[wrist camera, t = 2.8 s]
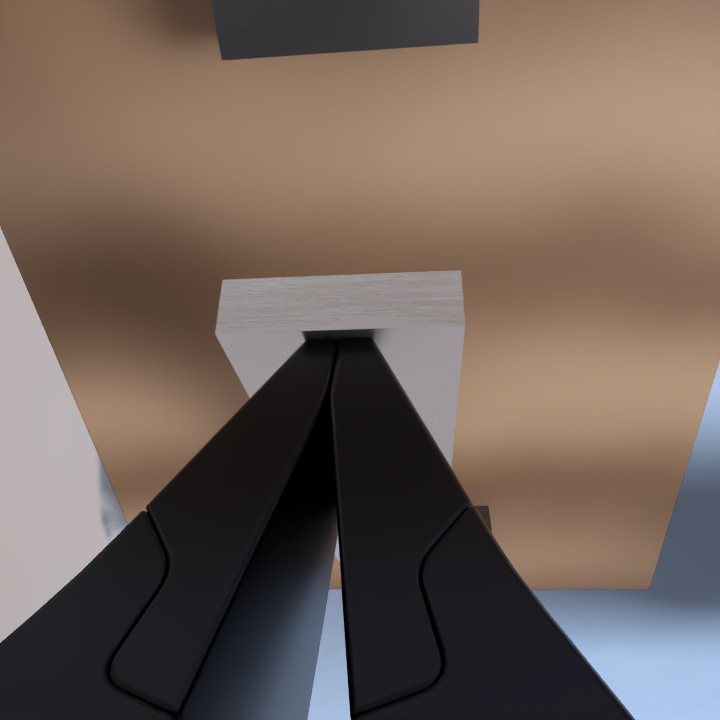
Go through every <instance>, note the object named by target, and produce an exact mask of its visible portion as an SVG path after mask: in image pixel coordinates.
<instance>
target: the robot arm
mask: <svg viewBox="0 0 720 720" xmlns="http://www.w3.org/2000/svg"><path fill="white" fill-rule="evenodd" d="M146 511H147V512H146ZM146 511H141V512H140V513H139V514H138V515H137V516H136V517H135V518H134V519H133V520H132V521H131V522H130V523H129V524H128V525H127V526H126V527H125V528H124V529H123V530H122V531H121V533H120V534H119V535H118V536H117V537H116V538H115V539H114V540H113V541H111V542H110V543H109V544H108V545H107V546H106V547H105V548H104V549H103V551H102V552H100V553H99V554H98V555H97V556H96V557H95V558H94V559H93V560H92V561H91V562H90V563H89V564H88V565H87V566H86V567H85V568H84V569H83V570H82V571H81V572H80V573H79V574H78V575H77V576H76V577H74V579H72V580H71V581H70V582H69V583H68V584H67V585H66V586H64V587H63V588H62V589H61V590H60V591H59V592H58V593H57V594H56V595H54V596H53V597H52V598H51V599H50V600H49V601H48V602H47V603H46V604H45V605H43V606H42V607H41V608H40V609H39V610H38V611H37V612H36V613H35V614H33V615H32V616H31V617H30V618H29V619H28V620H26V621H25V622H24V623H23V624H22V625H21V626H20V627H18V628H17V629H16V630H15V631H14V632H13V633H11V634H10V635H9V636H8V637H7V638H6V639H5V640H3V641H2V642H1V643H0V720H307V718H308V712H309V706H310V700H311V694H312V688H313V682H314V676H315V669H316V663H317V657H318V651H319V645H320V639H321V633H322V627H323V621H324V615H325V609H326V603H327V597H328V591H329V585H330V579H331V573H332V567H333V561H334V555H335V549H336V543H337V537H338V542H339V557H340V571H341V586H342V601H343V615H344V630H345V644H346V659H347V674H348V688H349V703H350V717H351V720H635V719H634V718H633V716H632V715H631V714H630V713H629V711H628V710H627V709H626V708H625V706H624V705H623V704H622V703H621V702H620V700H619V699H618V698H617V697H616V695H615V694H614V693H613V692H612V690H611V689H610V688H609V687H608V685H607V684H606V683H605V682H604V681H603V679H602V678H601V677H600V676H599V674H598V673H597V672H596V671H595V669H594V668H593V667H592V666H591V665H590V663H589V662H588V661H587V660H586V658H585V657H584V656H583V655H582V653H581V652H580V651H579V650H578V649H577V647H576V646H575V645H574V644H573V642H572V641H571V640H570V639H569V637H568V636H567V635H566V634H565V632H564V631H563V630H562V629H561V628H560V626H559V625H558V624H557V623H556V621H555V620H554V619H553V618H552V616H551V615H550V614H549V613H548V612H547V610H546V609H545V608H544V606H543V605H542V604H541V602H540V601H539V600H538V598H537V597H536V596H535V594H534V593H533V592H532V591H531V589H530V588H529V587H528V585H527V584H526V583H525V581H524V580H523V579H522V577H521V576H520V575H519V573H518V572H517V571H516V570H515V568H514V567H513V565H512V563H511V562H510V560H509V559H508V557H507V556H506V554H505V553H504V551H503V550H502V548H501V547H500V545H499V544H498V542H497V541H496V539H495V538H494V536H493V535H492V533H491V532H490V530H489V528H488V527H487V525H486V523H485V522H484V520H483V518H482V517H481V515H480V513H479V512H478V510H477V509H476V508H475V507H473V503H472V501H471V499H470V498H469V496H468V494H467V493H466V491H465V489H464V488H463V486H462V484H461V483H460V481H459V479H458V478H457V476H456V475H455V473H454V471H453V470H452V468H451V466H450V465H449V463H448V461H447V460H446V458H445V456H444V455H443V453H442V451H441V450H440V448H439V447H438V445H437V443H436V442H435V440H434V438H433V437H432V435H431V433H430V432H429V430H428V428H427V427H426V425H425V423H424V422H423V420H422V418H421V417H420V415H419V414H418V412H417V410H416V409H415V407H414V405H413V404H412V402H411V400H410V399H409V397H408V395H407V394H406V392H405V390H404V389H403V387H402V385H401V384H400V382H399V381H398V379H397V377H396V376H395V374H394V372H393V371H392V369H391V367H390V366H389V364H388V362H387V361H386V359H385V357H384V356H383V354H382V352H381V351H380V349H379V348H378V346H377V344H376V343H375V341H374V340H373V339H372V338H344V339H342V340H341V341H340V343H339V342H338V341H337V340H335V339H309V340H306V341H305V342H304V343H303V344H302V345H301V346H300V347H299V348H298V349H297V350H296V351H295V352H294V353H293V354H292V355H291V356H290V357H289V358H288V359H287V360H286V361H285V362H284V363H283V364H282V365H281V366H280V367H279V369H278V370H277V371H276V372H275V373H274V374H273V375H272V376H271V377H270V378H269V379H268V380H267V381H266V382H265V383H264V384H263V385H262V386H261V387H260V388H259V389H258V390H257V391H256V392H255V393H254V395H253V396H252V397H251V398H250V399H249V400H248V401H247V402H246V403H245V404H244V405H243V406H242V407H241V408H240V409H239V410H238V411H237V412H236V413H235V414H234V415H233V416H232V417H231V418H230V419H229V421H228V422H227V423H226V424H225V425H224V426H223V427H222V428H221V429H220V430H219V431H218V432H217V433H216V434H215V435H214V436H213V437H212V438H211V439H210V440H209V441H208V442H207V443H206V444H205V446H204V447H203V448H202V449H201V450H200V451H199V452H198V453H197V454H196V455H195V456H194V457H193V458H192V459H191V460H190V461H189V462H188V463H187V464H186V465H185V466H184V467H183V468H182V469H181V470H180V472H179V473H178V474H177V475H176V476H175V477H174V478H173V479H172V480H171V481H170V482H169V483H168V484H167V485H166V486H165V487H164V488H163V489H162V490H161V491H160V492H159V493H158V494H157V495H156V496H155V498H154V499H153V500H152V501H151V502H150V503H149V504H148V505H147V506H146Z"/></svg>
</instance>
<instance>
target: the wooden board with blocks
mask: <svg viewBox="0 0 720 720" xmlns="http://www.w3.org/2000/svg"><path fill="white" fill-rule="evenodd" d="M0 226H1V229H2V231H3V233H4V236H5V238H6V240H7V243H8V245H9V247H10V250H11V252H12V254H13V257H14V259H15V261H16V264H17V266H18V268H19V270H20V273H21V275H22V278H23V280H24V282H25V285H26V287H27V289H28V292H29V294H30V296H31V299H32V301H33V303H34V306H35V308H36V310H37V313H38V315H39V317H40V319H41V322H42V324H43V327H44V329H45V331H46V334H47V336H48V338H49V341H50V343H51V345H52V348H53V350H54V352H55V355H56V357H57V359H58V362H59V364H60V366H61V369H62V371H63V373H64V376H65V378H66V380H67V383H68V385H69V387H70V390H71V392H72V394H73V396H74V399H75V401H76V404H77V406H78V408H79V411H80V413H81V415H82V418H83V420H84V422H85V425H86V427H87V429H88V432H89V434H90V436H91V439H92V441H93V443H94V446H95V448H96V450H97V453H98V455H99V457H100V460H101V462H102V464H103V467H104V469H105V471H106V474H107V476H108V478H109V481H110V483H111V485H112V488H113V490H114V492H115V495H116V497H117V499H118V502H119V504H120V506H121V509H122V511H123V513H124V516H125V518H126V520H127V523H128V524H129V523H130V522H131V521H132V520H133V519H134V518H135V517H136V516H137V515H138V514H139V513H140V512H141V511H146V506H147V505H148V504H149V503H150V502H151V501H152V500H153V499H154V498H155V496H156V495H157V494H158V493H159V492H160V491H161V490H162V489H163V488H164V487H165V486H166V485H167V484H168V483H169V482H170V481H171V480H172V479H173V478H174V477H175V476H176V475H177V474H178V473H179V472H180V470H181V469H182V468H183V467H184V466H185V465H186V464H187V463H188V462H189V461H190V460H191V459H192V458H193V457H194V456H195V455H196V454H197V453H198V452H199V451H200V450H201V449H202V448H203V447H204V446H205V444H206V443H207V442H208V441H209V440H210V439H211V438H212V437H213V436H214V435H215V434H216V433H217V432H218V431H219V430H220V429H221V428H222V427H223V426H224V425H225V424H226V423H227V422H228V421H229V419H230V418H231V417H232V416H233V415H234V414H235V413H236V412H237V411H238V410H239V409H240V408H241V407H242V406H243V405H244V404H245V403H246V402H247V401H248V400H249V399H250V397H249V396H248V394H247V392H246V390H245V388H244V386H243V384H242V383H241V381H240V379H239V377H238V375H237V373H236V372H235V370H234V368H233V366H232V364H231V362H230V361H229V359H228V357H227V355H226V353H225V351H224V350H223V348H222V346H221V344H220V342H219V340H218V338H217V337H216V335H215V331H216V323H217V316H218V309H219V302H220V295H221V288H222V281H223V280H230V279H255V278H280V277H305V276H330V275H355V274H380V273H405V272H430V271H455V270H461V275H462V289H463V303H464V317H465V332H464V343H463V353H462V364H461V374H460V384H459V395H458V405H457V416H456V426H455V437H454V447H453V458H452V470H453V471H454V473H455V475H456V476H457V478H458V479H459V481H460V483H461V484H462V486H463V488H464V489H465V491H466V493H467V494H468V496H469V498H470V499H471V501H472V503H473V506H489V513H490V520H491V528H492V535H493V536H494V538H495V539H496V541H497V542H498V544H499V545H500V547H501V548H502V550H503V551H504V553H505V554H506V556H507V557H508V559H509V560H510V562H511V563H512V565H513V567H514V568H515V570H516V571H517V572H518V573H519V575H520V576H521V577H522V579H523V580H524V581H525V583H526V584H527V585H528V587H529V588H530V589H649V587H650V584H651V581H652V578H653V574H654V571H655V568H656V565H657V561H658V558H659V555H660V552H661V548H662V545H663V542H664V539H665V536H666V532H667V529H668V526H669V523H670V519H671V516H672V513H673V510H674V506H675V503H676V500H677V497H678V493H679V490H680V487H681V484H682V481H683V477H684V474H685V471H686V468H687V464H688V461H689V458H690V455H691V451H692V448H693V445H694V442H695V438H696V435H697V432H698V429H699V425H700V422H701V419H702V416H703V413H704V409H705V406H706V403H707V400H708V396H709V393H710V390H711V387H712V383H713V380H714V377H715V374H716V370H717V367H718V364H719V361H720V0H480V4H479V38H478V43H470V44H455V45H440V46H426V47H411V48H397V49H382V50H367V51H353V52H338V53H324V54H309V55H294V56H280V57H265V58H251V59H236V60H222V59H221V53H220V48H219V42H218V37H217V32H216V26H215V21H214V15H213V10H212V4H211V0H0ZM146 512H147V511H146ZM329 589H342V586H341V571H340V562H339V561H338V559H337V558H336V556H335V555H334V561H333V567H332V573H331V579H330V585H329Z"/></svg>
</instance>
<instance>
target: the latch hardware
mask: <svg viewBox="0 0 720 720" xmlns="http://www.w3.org/2000/svg"><path fill="white" fill-rule="evenodd" d="M211 4H212V10H213V15H214V21H215V26H216V32H217V37H218V42H219V48H220V53H221V59H222V60H236V59H251V58H265V57H280V56H294V55H309V54H324V53H338V52H353V51H367V50H382V49H397V48H411V47H426V46H440V45H455V44H470V43H478V38H479V4H480V0H211ZM473 507H475V508H476V509H477V510H478V512H479V513H480V515H481V517H482V518H483V520H484V522H485V523H486V525H487V527H488V528H489V530H490V532H491V533H492V528H491V520H490V513H489V506H473Z"/></svg>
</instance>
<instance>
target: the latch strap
mask: <svg viewBox="0 0 720 720" xmlns="http://www.w3.org/2000/svg"><path fill="white" fill-rule="evenodd" d="M464 332H465V317H464V303H463V289H462V275H461V270H455V271H430V272H405V273H380V274H355V275H330V276H305V277H280V278H255V279H230V280H223V281H222V288H221V295H220V302H219V309H218V316H217V323H216V331H215V335H216V337H217V338H218V340H219V342H220V344H221V346H222V348H223V350H224V351H225V353H226V355H227V357H228V359H229V361H230V362H231V364H232V366H233V368H234V370H235V372H236V373H237V375H238V377H239V379H240V381H241V383H242V384H243V386H244V388H245V390H246V392H247V394H248V396H249V397H250V398H251V397H252V396H253V395H254V393H255V392H256V391H257V390H258V389H259V388H260V387H261V386H262V385H263V384H264V383H265V382H266V381H267V380H268V379H269V378H270V377H271V376H272V375H273V374H274V373H275V372H276V371H277V370H278V369H279V367H280V366H281V365H282V364H283V363H284V362H285V361H286V360H287V359H288V358H289V357H290V356H291V355H292V354H293V353H294V352H295V351H296V350H297V349H298V348H299V347H300V346H301V345H302V344H303V343H304V342H305V341H306V340H309V339H335V340H337V341H338V342H339V343H340V341H341V340H342V339H344V338H372V339H373V340H374V341H375V343H376V344H377V346H378V348H379V349H380V351H381V352H382V354H383V356H384V357H385V359H386V361H387V362H388V364H389V366H390V367H391V369H392V371H393V372H394V374H395V376H396V377H397V379H398V381H399V382H400V384H401V385H402V387H403V389H404V390H405V392H406V394H407V395H408V397H409V399H410V400H411V402H412V404H413V405H414V407H415V409H416V410H417V412H418V414H419V415H420V417H421V418H422V420H423V422H424V423H425V425H426V427H427V428H428V430H429V432H430V433H431V435H432V437H433V438H434V440H435V442H436V443H437V445H438V447H439V448H440V450H441V451H442V453H443V455H444V456H445V458H446V460H447V461H448V463H449V465H450V466H451V468H452V458H453V447H454V437H455V426H456V416H457V405H458V395H459V384H460V374H461V364H462V353H463V343H464ZM335 556H336V558H337V559H338V561H339V562H340V557H339V542H338V537H337V543H336V549H335Z"/></svg>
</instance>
